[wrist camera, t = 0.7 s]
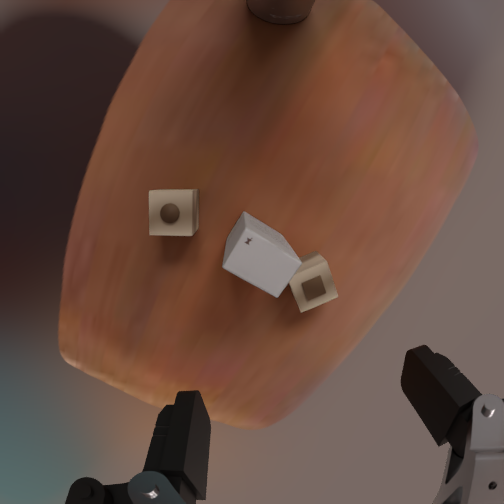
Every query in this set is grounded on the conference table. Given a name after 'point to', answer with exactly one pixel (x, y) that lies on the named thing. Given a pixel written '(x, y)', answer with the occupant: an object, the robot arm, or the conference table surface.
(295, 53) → the conference table surface
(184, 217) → the marked block
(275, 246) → the skincare box
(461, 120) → the conference table surface
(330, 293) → the marked block
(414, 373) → the robot arm
